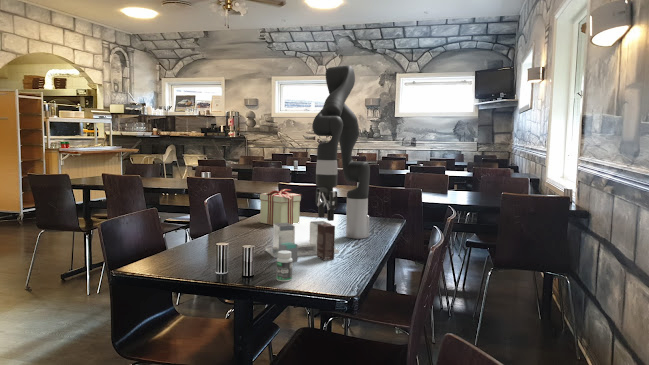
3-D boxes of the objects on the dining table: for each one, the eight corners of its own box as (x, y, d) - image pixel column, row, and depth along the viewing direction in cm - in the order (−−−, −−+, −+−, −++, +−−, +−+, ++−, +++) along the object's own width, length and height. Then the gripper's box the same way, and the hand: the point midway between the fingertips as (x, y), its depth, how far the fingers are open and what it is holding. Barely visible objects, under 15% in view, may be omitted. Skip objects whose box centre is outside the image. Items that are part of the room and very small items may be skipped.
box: (334, 259, 169) (335, 225, 168) (323, 260, 167) (324, 226, 166) (327, 255, 174) (327, 223, 173) (316, 256, 172) (316, 223, 171)
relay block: (290, 259, 168) (291, 242, 168) (297, 261, 165) (297, 244, 165) (278, 261, 165) (278, 243, 165) (285, 263, 162) (285, 245, 162)
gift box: (287, 227, 232) (287, 192, 230) (257, 223, 242) (258, 189, 240) (307, 223, 246) (307, 189, 244) (279, 219, 256) (279, 187, 254)
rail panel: (326, 246, 190) (327, 219, 189) (339, 252, 179) (339, 224, 178) (265, 250, 181) (265, 222, 180) (274, 257, 170) (274, 228, 169)
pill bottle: (273, 280, 141) (273, 252, 141) (280, 276, 146) (280, 249, 145) (288, 282, 140) (288, 254, 139) (294, 278, 144) (295, 250, 144)
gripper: (344, 174, 163) (343, 221, 164) (328, 172, 176) (327, 215, 177) (324, 174, 160) (323, 222, 161) (309, 172, 173) (308, 216, 175)
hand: (325, 218), depth 169 cm, fingers open, 8 cm apart
